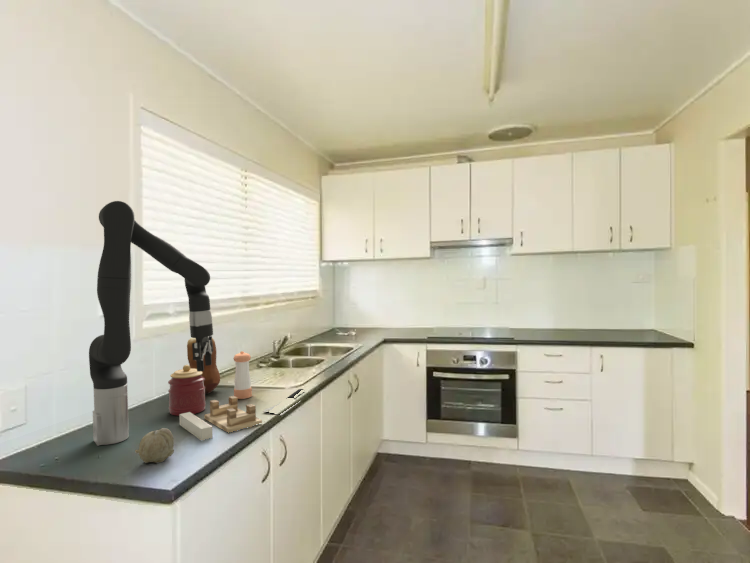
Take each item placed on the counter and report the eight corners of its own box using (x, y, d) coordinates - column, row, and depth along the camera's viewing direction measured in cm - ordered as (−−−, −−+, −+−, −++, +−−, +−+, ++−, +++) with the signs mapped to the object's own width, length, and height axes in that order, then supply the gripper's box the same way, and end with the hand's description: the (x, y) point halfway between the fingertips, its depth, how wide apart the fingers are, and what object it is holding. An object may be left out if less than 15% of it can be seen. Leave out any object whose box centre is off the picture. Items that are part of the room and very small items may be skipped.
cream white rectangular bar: (212, 438, 141) (212, 426, 141) (201, 441, 139) (201, 429, 139) (189, 423, 156) (189, 411, 156) (179, 425, 154) (179, 414, 154)
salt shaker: (238, 400, 183) (237, 353, 182) (231, 396, 188) (230, 351, 188) (254, 396, 188) (254, 351, 187) (247, 393, 193) (246, 349, 192)
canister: (192, 417, 162) (191, 369, 161) (161, 415, 164) (159, 368, 164) (212, 406, 175) (211, 361, 174) (183, 404, 177) (181, 360, 177)
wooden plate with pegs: (261, 424, 153) (261, 405, 153) (228, 433, 145) (228, 413, 145) (236, 411, 168) (235, 394, 168) (204, 418, 160) (204, 400, 160)
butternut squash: (200, 388, 202) (199, 333, 202) (226, 390, 199) (225, 334, 198) (179, 396, 189) (178, 338, 188) (206, 398, 185) (205, 339, 185)
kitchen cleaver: (286, 414, 162) (261, 409, 164) (285, 418, 162) (261, 413, 165) (317, 391, 192) (295, 387, 195) (316, 395, 192) (295, 391, 195)
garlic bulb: (171, 463, 128) (183, 429, 130) (162, 471, 120) (175, 434, 122) (138, 455, 127) (151, 420, 129) (127, 463, 119) (141, 425, 121)
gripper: (197, 321, 165) (201, 364, 166) (182, 327, 151) (186, 374, 152) (217, 319, 166) (221, 362, 167) (205, 325, 151) (208, 372, 152)
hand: (204, 368), depth 159 cm, fingers open, 8 cm apart
